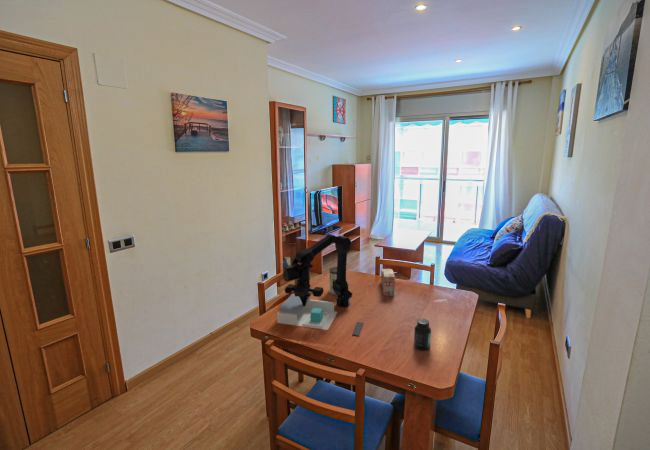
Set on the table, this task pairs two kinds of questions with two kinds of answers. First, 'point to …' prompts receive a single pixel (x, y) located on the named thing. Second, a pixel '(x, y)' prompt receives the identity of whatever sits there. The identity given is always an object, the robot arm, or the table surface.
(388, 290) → the stack of blocks
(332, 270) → the coffee can
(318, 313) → the teal block
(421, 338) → the supplement bottle
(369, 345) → the table surface
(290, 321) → the open white tray
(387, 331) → the table surface
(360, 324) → the rubber mat
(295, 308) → the sliding cover
